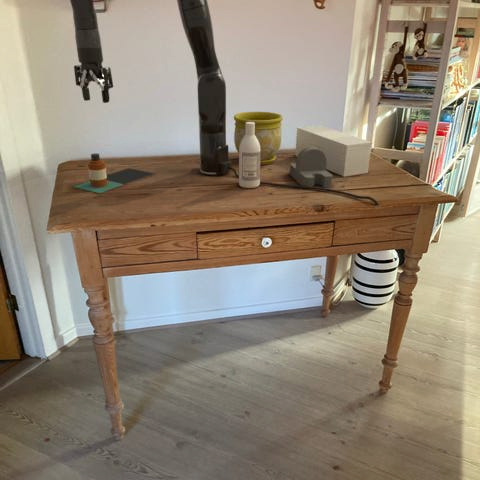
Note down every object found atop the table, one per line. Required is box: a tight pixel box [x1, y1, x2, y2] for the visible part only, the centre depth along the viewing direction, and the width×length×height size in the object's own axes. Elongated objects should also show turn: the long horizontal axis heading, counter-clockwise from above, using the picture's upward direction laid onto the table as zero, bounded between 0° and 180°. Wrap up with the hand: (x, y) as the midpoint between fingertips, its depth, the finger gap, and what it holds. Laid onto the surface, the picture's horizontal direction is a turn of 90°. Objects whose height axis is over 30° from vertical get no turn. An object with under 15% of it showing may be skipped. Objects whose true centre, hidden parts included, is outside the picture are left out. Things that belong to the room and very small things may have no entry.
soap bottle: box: [87, 152, 108, 188], centre depth 170 cm, size 6×6×10 cm
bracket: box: [289, 147, 334, 188], centre depth 177 cm, size 10×18×11 cm, turn 13°
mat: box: [73, 168, 154, 195], centre depth 178 cm, size 12×26×1 cm, turn 147°
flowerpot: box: [233, 111, 284, 166], centre depth 197 cm, size 18×18×16 cm
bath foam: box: [238, 122, 261, 189], centre depth 169 cm, size 7×7×20 cm
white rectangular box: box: [294, 124, 373, 178], centre depth 195 cm, size 32×11×11 cm, turn 27°
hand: (96, 101), depth 171 cm, fingers open, 8 cm apart
